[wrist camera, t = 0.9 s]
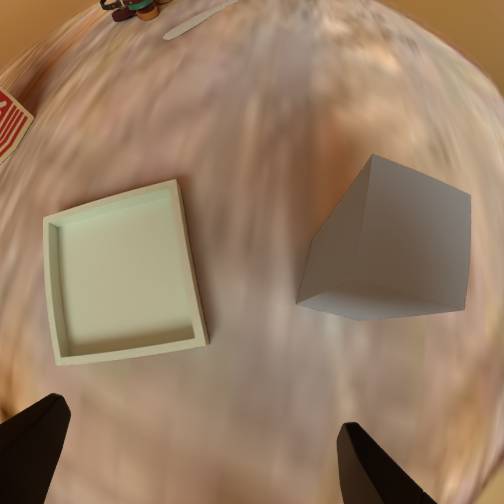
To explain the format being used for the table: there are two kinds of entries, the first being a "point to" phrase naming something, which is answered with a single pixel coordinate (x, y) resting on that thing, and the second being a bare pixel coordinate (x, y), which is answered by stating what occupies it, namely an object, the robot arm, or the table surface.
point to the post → (391, 247)
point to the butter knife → (195, 20)
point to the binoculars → (133, 9)
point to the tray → (122, 278)
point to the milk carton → (11, 123)
